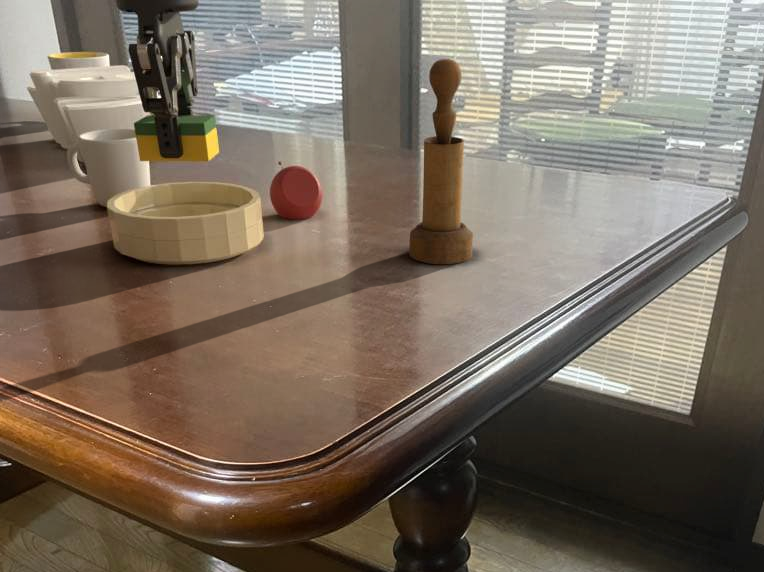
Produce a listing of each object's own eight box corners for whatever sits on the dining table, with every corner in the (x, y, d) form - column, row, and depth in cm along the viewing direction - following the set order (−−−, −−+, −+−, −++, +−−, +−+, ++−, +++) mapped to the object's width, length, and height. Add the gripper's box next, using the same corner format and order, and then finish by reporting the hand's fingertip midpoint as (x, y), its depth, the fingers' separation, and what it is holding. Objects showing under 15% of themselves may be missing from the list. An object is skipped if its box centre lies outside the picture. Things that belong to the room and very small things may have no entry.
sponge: (139, 161, 87) (133, 123, 85) (153, 152, 91) (147, 115, 89) (208, 161, 87) (204, 123, 85) (219, 152, 91) (214, 115, 89)
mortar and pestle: (447, 269, 87) (453, 65, 77) (396, 257, 91) (395, 60, 80) (484, 253, 92) (494, 58, 82) (434, 242, 95) (437, 54, 85)
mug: (126, 122, 156) (115, 55, 150) (67, 127, 152) (53, 58, 146) (107, 111, 166) (96, 48, 160) (52, 115, 162) (38, 51, 156)
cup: (58, 208, 107) (42, 137, 103) (96, 193, 113) (83, 125, 109) (134, 215, 104) (122, 142, 100) (169, 199, 110) (159, 130, 106)
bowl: (94, 266, 88) (84, 217, 85) (141, 224, 101) (134, 180, 98) (247, 269, 87) (242, 219, 85) (275, 226, 100) (271, 182, 97)
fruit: (318, 226, 108) (304, 159, 107) (331, 211, 102) (316, 141, 101) (270, 232, 106) (255, 164, 105) (281, 217, 100) (265, 146, 99)
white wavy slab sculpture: (186, 167, 126) (175, 85, 120) (67, 178, 120) (50, 93, 114) (134, 128, 152) (123, 59, 146) (34, 135, 146) (18, 64, 140)
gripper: (133, -52, 85) (163, 138, 95) (80, -49, 73) (120, 167, 83) (209, -52, 85) (231, 138, 95) (168, -50, 73) (197, 168, 83)
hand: (179, 151), depth 89 cm, fingers closed on sponge, 4 cm apart
